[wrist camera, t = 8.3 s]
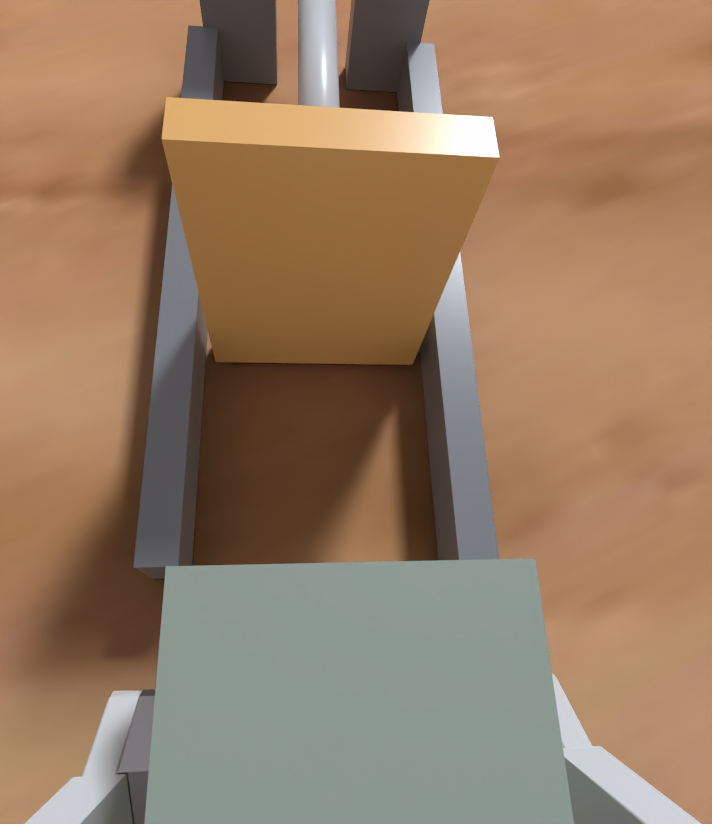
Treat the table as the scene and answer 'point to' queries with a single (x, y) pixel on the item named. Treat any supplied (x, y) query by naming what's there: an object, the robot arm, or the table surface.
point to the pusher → (322, 214)
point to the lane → (186, 326)
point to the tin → (355, 696)
